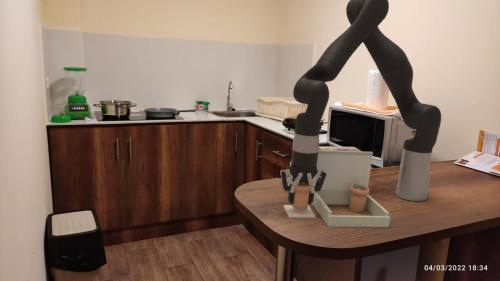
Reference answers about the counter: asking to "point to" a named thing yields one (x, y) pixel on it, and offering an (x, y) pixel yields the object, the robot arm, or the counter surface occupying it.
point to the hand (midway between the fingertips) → (300, 203)
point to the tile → (299, 212)
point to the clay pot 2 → (358, 197)
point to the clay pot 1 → (301, 195)
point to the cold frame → (346, 188)
